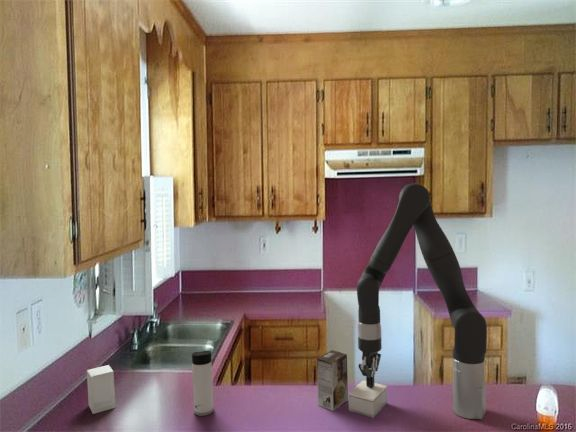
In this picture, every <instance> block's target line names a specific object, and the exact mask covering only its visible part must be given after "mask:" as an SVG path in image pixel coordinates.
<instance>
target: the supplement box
mask: <svg viewBox="0 0 576 432" xmlns="http://www.w3.org/2000/svg"><path fill="white" fill-rule="evenodd" d="M86 379H87V380H86V382H87V384H86V385H87V397H88V399H87V400H88V407H89V409H90V411H91V413H92V415H94V414H99V413H102V412H105V411H108V410H112V409H115V408H116V394H115V374H114V370H113V369H112V367H111V366H110V364H107V365H103V366H98V367H94V368H91V369H86Z"/></svg>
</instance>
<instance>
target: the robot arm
mask: <svg viewBox="0 0 576 432" xmlns="http://www.w3.org/2000/svg"><path fill="white" fill-rule="evenodd" d="M437 220H438V219H436V216H435V213H434V210H433V207H432V204H431V195H430V192H429V190H428V189H427V188H426V187H425V186H424V185H422V184H420V183H415V182H413V183H409V184H405V185H404V186H403V187H402V188H401V190H400V192H399V195H398V204H397V207H396V210H395V212H394V215H393V217H392V219H391V221H390V223H389V225H388V226H387V228H386V230H385V231H384V233H383V234H382V236H381V238H380V239H379V241H378V243H377V245H376V247H375V249H374V251H372V254H371V256H370V259H369V261H368V264H367V266H366V267H365V269H364V271H363V272H362V274H361V276H360V278H359V279H358V281H357V285H356V295H357V296H356V297H357V304H358V310H357V311H358V316H357V317H358V324H357V346H358V347H357V348H358V350H360V351H361V352H362V355H361V361H362V362H361V363H359V364H358V369H359V371H360V372H361V375H362V376H364V377H365V378H366V379H365V381H366V386H367V387H370V388H372V387H374V383H375V376H376V372H378V369H379V366H380V361H381V356H382V354H381V353H379V352H380V351H382V345H383V344H382V326H381V325H382V324H381V307H380V304H379V303H380V297H379V295H380V288H381V286H382V284H383V281H384V280H385V277H386V275H387V273H388V272H389V271H390V270H391V268H392V265H393V264H394V262H395V261H396V258H397V256H398V255H399V252H400V250H401V248H402V247H403V244H404V241H405V240H406V238H407V236H408V234H409V232H410V231H411V229H412V227H413V228H414V231H415V235H416V239H417V241H418V245H419V249H420V252H421V254H422V255H421V256H422V258H423V260H424V262H425V264H426V267H427V270H428V272H429V273H430V275H431V278H432V279H433V282H434V283H435V285H436V286H437V288H438V290H439V292H440V293H441V295H442V298H443V299H444V300H443V301H444V303H445V306H446V308H447V311H448V312H447V313H448V315H449V319H450V323H451V325H452V327H453V329H454V345H453V348H452V411H453V413H454V414H456V415H457V416H459V417H461V418H464V419H470V420H480V421H481V420H483V419H484V417H485V416H486V415H485V414H486V412H487V382H486V381H485V356H486V353H487V343H488V342H487V341H488V340H487V339H488V328H487V327H488V326H487V321H486V319H485V317H484V316H483V315H482V313H480V311H479V310H478V309H477V308H476V306H475V304H474V303H473V301H472V299H471V297H470V295H469V293H468V292H467V291H468V290H467V289H466V287H465V283H464V279H463V273H462V269H461V266H460V263H459V260H458V258H457V256H456V253H455V251H454V249H453V248H454V247H452V245H451V243H450V241H449V239H448V237H447V236H446V234H445V232H444V231H443V229H442V228H441V226H440V225H439V223H438V221H437Z"/></svg>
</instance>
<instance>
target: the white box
mask: <svg viewBox="0 0 576 432" xmlns="http://www.w3.org/2000/svg"><path fill="white" fill-rule="evenodd" d="M387 404H388V389H387V388H386V389H385V390H384V391H383V392H382V393H381V394H380V395H379V396H378V397H377V398H376V399H375V400H374V401H369V400H366V399H362V398H358V397H355V396H351V395H348V411H349V412H350V413H351V412H352V413H355V414H359V415H361V416H365V417H368V418H371V419H374V418H375V417H376V416H377V415H378V414H379V413H380V411H382V410H383V409H384V407H386V406H387Z"/></svg>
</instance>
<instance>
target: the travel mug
mask: <svg viewBox="0 0 576 432" xmlns="http://www.w3.org/2000/svg"><path fill="white" fill-rule="evenodd" d="M212 362H213V361H212V352H211V351H210V350H203V351H195V352H193V353H191V366H192V390H193V391H192V392H193V394H192V395H193V413H194V415H196V416H199V417H203V416H205V417H206V416H208V415H211V414H212V413H213V412H214V387H213V386H214V385H213V382H214V381H213V364H212Z"/></svg>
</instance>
